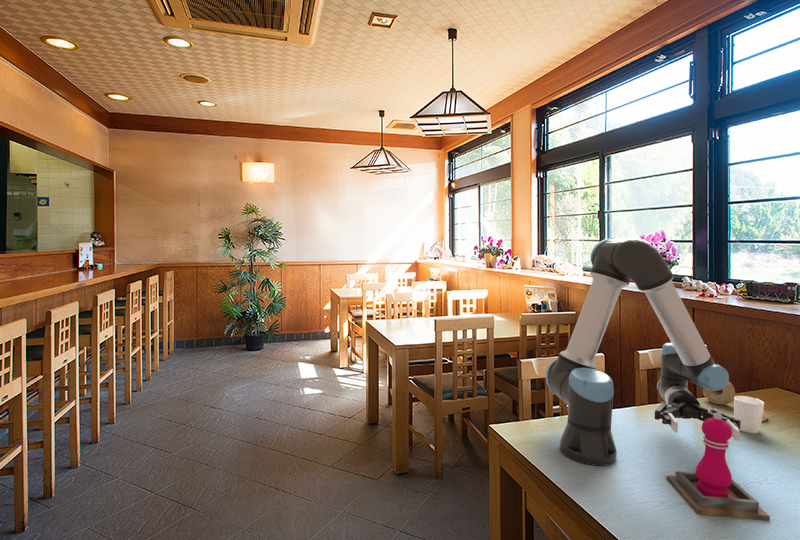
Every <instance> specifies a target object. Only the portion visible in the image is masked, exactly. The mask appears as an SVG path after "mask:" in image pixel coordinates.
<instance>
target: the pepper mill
mask: <svg viewBox="0 0 800 540" xmlns="http://www.w3.org/2000/svg"><path fill="white" fill-rule="evenodd" d="M713 417H714V418H708V419H706V420H705V421H702V424H701V432H702V433H703V440H702V443H703V444H704V445H705V446H704V454H703V456H702V458H701V459H700V460H699V461H698V463H697V465H696V467H695V471H694V472H695V474H696V476H697V478H698V479H699V481H698V482H697V489H698V490H699V491H700V492H701V493H702V494H703V495H704V496H711V497H723V498H728V492H729V491H728V489H727V488H728V487H729V486H730V485H731V484H732V480H733V477H732V473H731V470H730V468H729V466H728V464H727V460H726V451H727V449H729V444H730V442H729V440H730V439H731V438H733V437H732V428H731V426H730V425H729V424H728V423H727V422H725V421H724V420H721V419H722V415H721V414H720V413H714V414H713Z"/></svg>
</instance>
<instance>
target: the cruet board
mask: <svg viewBox="0 0 800 540" xmlns="http://www.w3.org/2000/svg"><path fill="white" fill-rule="evenodd" d="M675 471H676V472H675V475H672V474H666V480H667V481H668V482H669V483H670V484H671V486H672V487H673V488H674V489H675V491H677V493H679V495H680V496H681V497H682V498H683V500H685V502H686V503H687V504H688V505H689V506H690V507H691V508H692V509H693V511H694V512H695V513H696V514H697V515H705V516H707V515H708V516H715V517H716V516H718V517H726V518H727V517H728V518H729V517H730V518H738V519H739V518H741V519H752V520H764V521H770V520H771V519H770V518H771V516H770V514H768V513H767V512H766V511H765V510H764V509H763V508H761V506H759V504H760V502H758V501H757V500H756V499H755V498H754V497H753V496H752V495H750V493H748V492H747V491H746V490H745V489H744V488H743V487H742V486H740V485H739V484H738V483H737V482H735V481H734V479H732V484H731V485H730V486H729V487H728V488H727V489H728V491H729V492H728V498H723V497H711V496H704V495H703V494H702V493H701V492H700V491H699V490H698V489H697V482H698V481H699V479H698V478H697V476H696V474H695V471H693V472H690V471H682V470H681V471H679V470H675Z"/></svg>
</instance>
